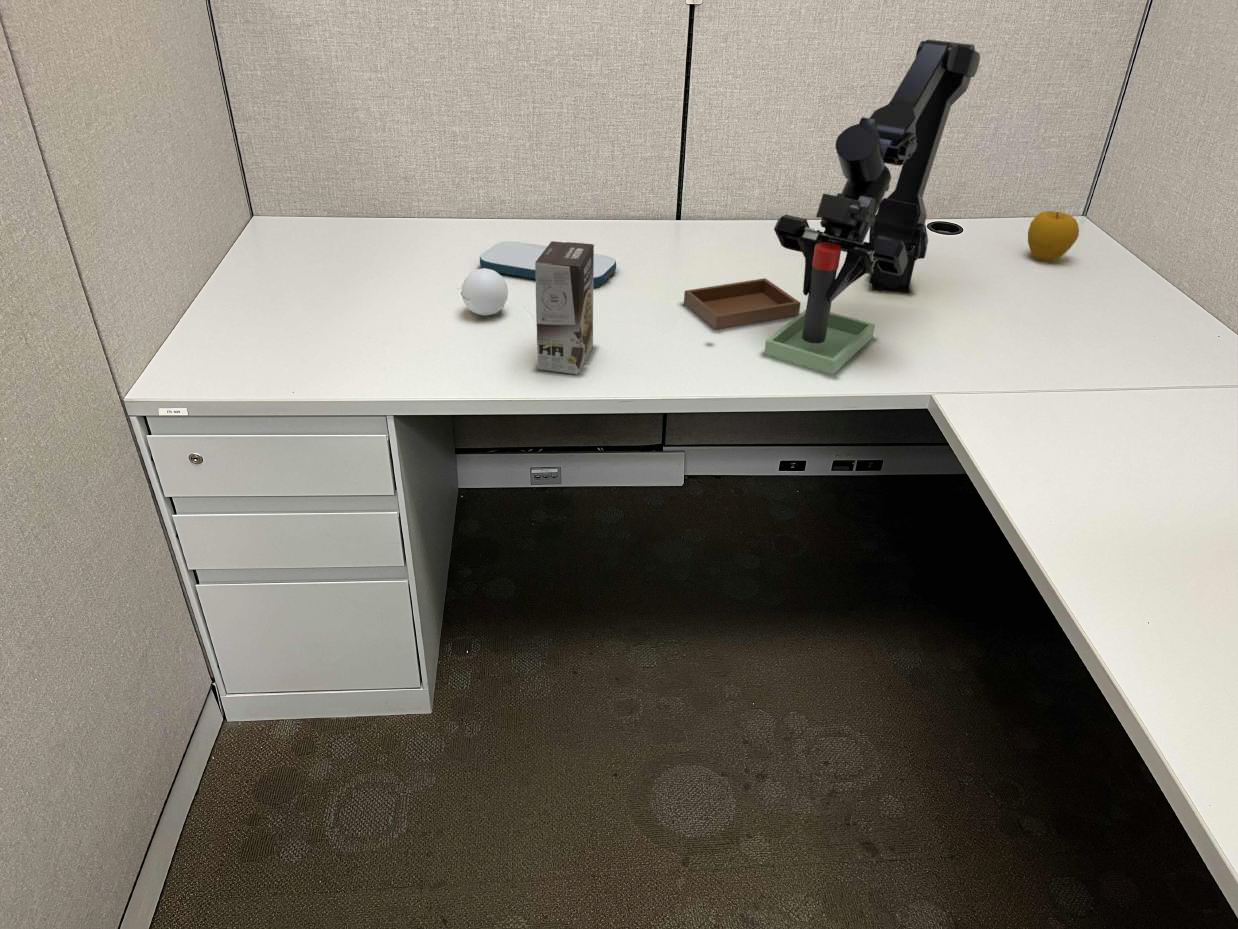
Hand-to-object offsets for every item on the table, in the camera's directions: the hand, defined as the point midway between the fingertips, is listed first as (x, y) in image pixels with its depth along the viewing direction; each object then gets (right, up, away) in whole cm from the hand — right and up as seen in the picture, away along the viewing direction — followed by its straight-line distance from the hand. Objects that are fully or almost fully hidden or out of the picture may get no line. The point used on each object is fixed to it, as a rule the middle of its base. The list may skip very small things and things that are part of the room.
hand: (816, 297), depth 125 cm
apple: (+53, +15, +42) cm, 69 cm away
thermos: (+1, -5, +5) cm, 7 cm away
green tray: (+2, -6, +8) cm, 11 cm away
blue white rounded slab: (-41, +11, +32) cm, 53 cm away
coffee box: (-36, -8, +4) cm, 37 cm away
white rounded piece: (-51, 0, +16) cm, 53 cm away
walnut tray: (-8, +1, +19) cm, 21 cm away
